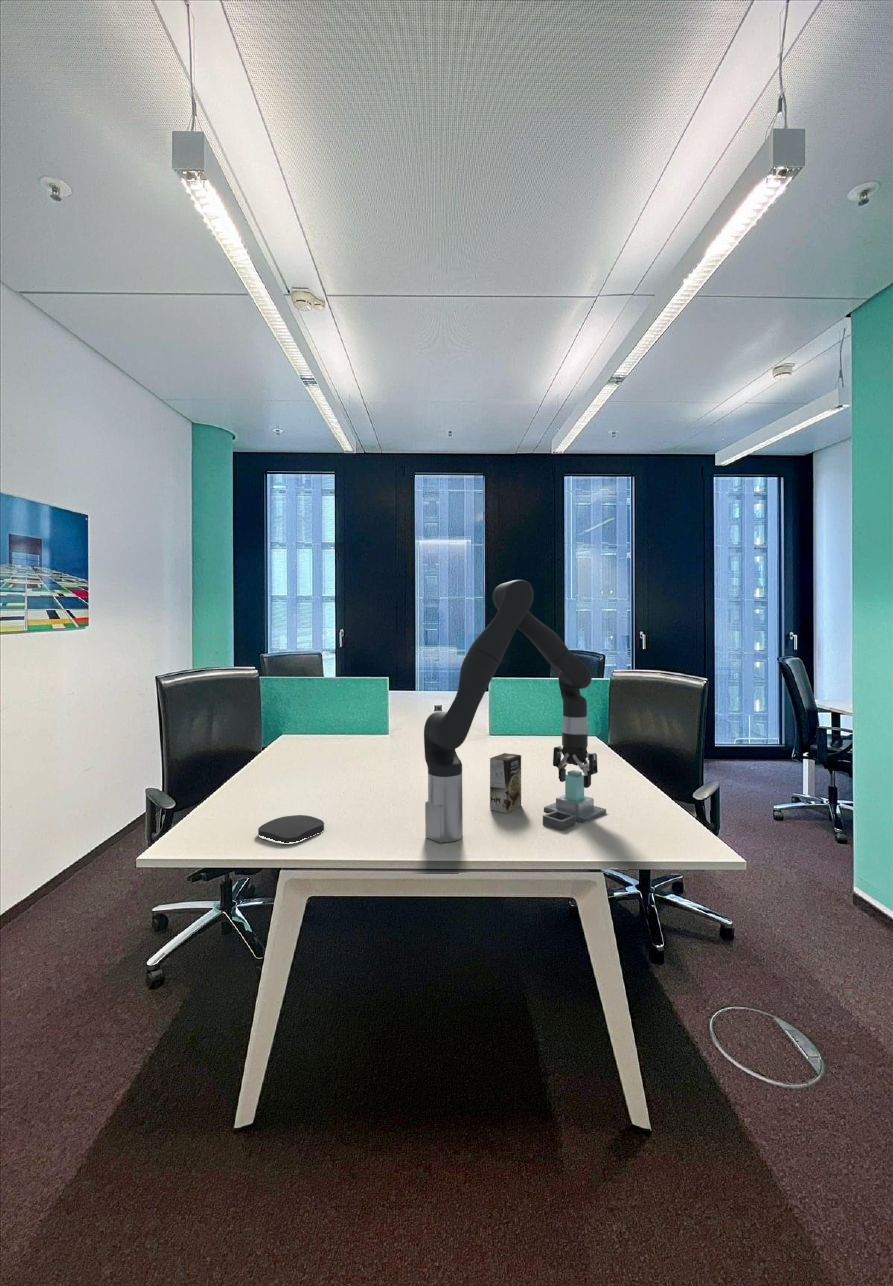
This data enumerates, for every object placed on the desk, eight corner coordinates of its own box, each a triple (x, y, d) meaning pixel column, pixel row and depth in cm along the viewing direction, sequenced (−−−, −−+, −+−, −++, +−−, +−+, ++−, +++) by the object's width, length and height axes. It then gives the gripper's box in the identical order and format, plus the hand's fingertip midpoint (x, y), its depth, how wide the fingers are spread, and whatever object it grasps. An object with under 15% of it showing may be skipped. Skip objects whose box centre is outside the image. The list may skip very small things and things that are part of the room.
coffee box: (507, 814, 162) (507, 760, 161) (489, 809, 165) (488, 757, 165) (522, 805, 169) (522, 754, 168) (504, 802, 173) (504, 752, 172)
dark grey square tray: (562, 830, 148) (562, 821, 148) (542, 824, 153) (542, 815, 152) (576, 824, 152) (575, 816, 152) (556, 818, 157) (556, 810, 157)
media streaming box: (290, 849, 138) (289, 837, 138) (251, 837, 145) (251, 826, 145) (330, 830, 150) (330, 819, 150) (293, 821, 158) (293, 811, 158)
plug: (576, 811, 160) (576, 774, 160) (565, 808, 163) (565, 771, 162) (584, 808, 163) (584, 771, 162) (572, 804, 165) (572, 769, 165)
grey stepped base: (583, 823, 153) (583, 808, 153) (543, 811, 164) (543, 797, 164) (606, 813, 161) (606, 799, 161) (567, 802, 172) (567, 789, 172)
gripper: (547, 729, 165) (547, 781, 165) (588, 735, 154) (588, 792, 155) (562, 726, 170) (562, 777, 170) (602, 732, 159) (602, 787, 160)
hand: (574, 784), depth 162 cm, fingers open, 8 cm apart
